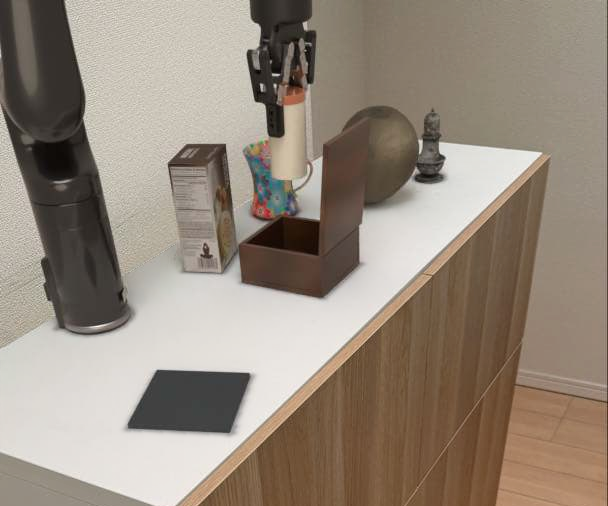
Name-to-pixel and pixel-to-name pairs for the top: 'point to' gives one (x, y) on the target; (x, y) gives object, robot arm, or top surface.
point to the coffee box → (203, 206)
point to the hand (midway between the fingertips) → (286, 130)
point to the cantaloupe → (387, 151)
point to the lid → (343, 184)
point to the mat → (190, 401)
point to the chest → (296, 257)
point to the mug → (270, 184)
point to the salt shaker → (430, 151)
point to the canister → (290, 138)
